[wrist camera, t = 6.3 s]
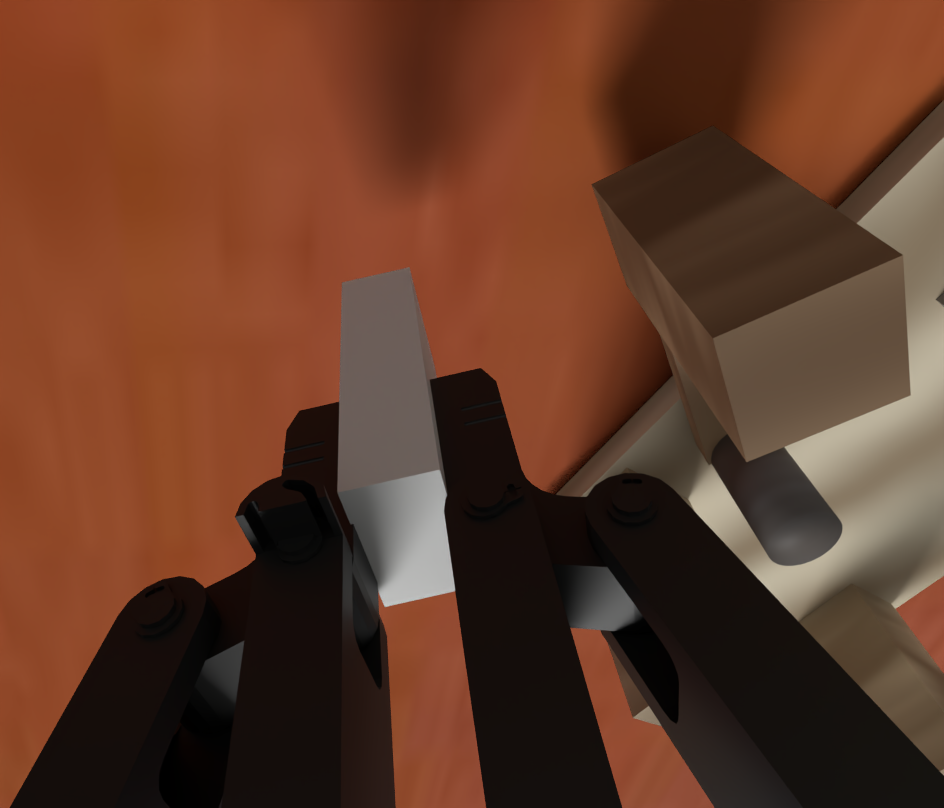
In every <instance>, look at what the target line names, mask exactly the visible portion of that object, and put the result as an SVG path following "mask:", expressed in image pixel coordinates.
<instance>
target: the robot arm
mask: <svg viewBox="0 0 944 808" xmlns="http://www.w3.org/2000/svg"><path fill="white" fill-rule="evenodd" d="M284 450H285V453H284V458H283V470H282V475H281V476H280V477H277V478H274V479H271V480H269V481H266V482H265V483H263V484H262V485H260V486H259V487H257V488H256V489H254V490H253V491H252V492H251V493H250V494H249V495H248V496H247V497H246V498H245V499H244V500H243V501H242V503H241V504H240V506H239V509H238V511H237V513H236V516H235V518H236V520H237V521H238V523H239V525H240V527H241V528H242V530H243V532H244V534H245V536H246V537H247V539H248V541H249V543H250V545H251V546H252V548H253V550H254V552H255V553H256V559H255V560H254V561H253V562H252V563H250V564H249V565H248V566H247V567H245V568H243V569H242V570H240V571H238V572H237V573H235V574H233V575H231V576H229V577H227V578H225V579H223V580H221V581H219V582H217V583H215V584H213V585H211V586H209V587H207V588H204V587H203V586H202V585H201V584H200V583H199V582H197V581H196V580H195V579H193V578H187V577H181V576H178V577H173V578H168V579H163V580H161V581H159V582H157V583H154V584H152V585H150V586H148V587H146V588H145V589H143V590H142V591H141V592H140V593H138V594H137V595H136V596H135V597H133V598H132V599H131V600H130V601H129V602H128V603H127V605H126V606H125V607H124V609H123V610H122V611H121V612H120V614H119V615H118V617H117V618H116V620H115V622H114V624H113V625H112V627H111V629H110V631H109V633H108V634H107V636H106V638H105V640H104V641H103V643H102V645H101V647H100V649H99V650H98V652H97V654H96V656H95V657H94V659H93V661H92V663H91V665H90V666H89V668H88V670H87V672H86V673H85V675H84V677H83V679H82V680H81V682H80V684H79V686H78V688H77V689H76V691H75V693H74V695H73V696H72V698H71V700H70V702H69V704H68V705H67V707H66V709H65V711H64V712H63V714H62V716H61V718H60V719H59V721H58V723H57V725H56V727H55V728H54V730H53V732H52V734H51V735H50V737H49V739H48V741H47V743H46V744H45V746H44V748H43V750H42V751H41V753H40V755H39V757H38V758H37V760H36V762H35V764H34V766H33V767H32V769H31V771H30V773H29V774H28V776H27V778H26V780H25V782H24V783H23V785H22V787H21V789H20V790H19V792H18V794H17V796H16V798H15V799H14V801H13V803H12V805H11V806H10V808H396V807H395V788H394V768H393V748H392V728H391V708H390V689H389V669H388V649H387V635H386V632H385V628H384V625H383V622H382V620H381V618H380V615H379V606H378V592H379V594H380V597H381V599H382V601H383V604H384V606H385V607H387V606H391V605H396V604H400V603H404V602H409V601H413V600H418V599H422V598H427V597H431V596H435V595H440V594H444V593H449V592H453V591H455V592H456V599H457V606H458V613H459V620H460V627H461V634H462V641H463V648H464V655H465V662H466V669H467V676H468V683H469V690H470V697H471V704H472V711H473V718H474V725H475V732H476V739H477V746H478V753H479V760H480V767H481V774H482V781H483V788H484V795H485V802H486V808H622V805H621V802H620V799H619V795H618V792H617V788H616V785H615V781H614V778H613V774H612V771H611V767H610V764H609V761H608V757H607V754H606V750H605V747H604V743H603V740H602V736H601V733H600V729H599V726H598V723H597V719H596V716H595V712H594V709H593V705H592V702H591V698H590V695H589V691H588V688H587V684H586V681H585V678H584V674H583V671H582V667H581V664H580V660H579V657H578V653H577V650H576V646H575V643H574V640H573V636H572V633H571V629H570V627H571V628H583V629H595V630H601V633H602V635H603V636H604V638H605V639H606V641H607V642H608V644H609V645H610V647H611V649H612V650H613V652H614V653H615V655H616V656H617V658H618V659H619V661H620V662H621V664H622V665H623V667H624V669H625V670H626V672H627V673H628V675H629V676H630V678H631V679H632V681H633V682H634V684H635V685H636V687H637V689H638V690H639V692H640V693H641V695H642V696H643V698H644V699H645V701H646V702H647V704H648V706H649V707H650V709H651V710H652V712H653V713H654V715H655V716H656V718H657V719H658V721H659V722H660V724H661V726H662V727H663V729H664V730H665V732H666V733H667V735H668V736H669V738H670V739H671V741H672V742H673V744H674V746H675V747H676V749H677V750H678V752H679V753H680V755H681V756H682V758H683V759H684V761H685V763H686V764H687V766H688V767H689V769H690V770H691V772H692V773H693V775H694V776H695V778H696V779H697V781H698V783H699V784H700V786H701V787H702V789H703V790H704V792H705V793H706V795H707V796H708V798H709V799H710V801H711V803H712V804H713V806H714V807H715V808H944V775H943V774H942V773H941V772H940V771H939V770H938V769H937V768H936V767H935V766H934V765H933V764H932V763H931V761H930V760H929V759H928V758H927V757H926V756H925V755H924V754H923V753H922V752H921V751H920V750H919V749H918V748H917V747H916V746H915V744H914V743H913V742H912V741H911V740H910V739H909V738H908V737H907V736H906V735H905V734H904V733H903V732H902V731H901V730H900V729H899V728H898V726H897V725H896V724H895V723H894V722H893V721H892V720H891V719H890V718H889V717H888V716H887V715H886V714H885V713H884V712H883V711H882V710H881V708H880V707H879V706H878V705H877V704H876V703H875V702H874V701H873V700H872V699H871V698H870V697H869V696H868V695H867V694H866V693H865V691H864V690H863V689H862V688H861V687H860V686H859V685H858V684H857V683H856V682H855V681H854V680H853V679H852V678H851V677H850V676H849V675H848V673H847V672H846V671H845V670H844V669H843V668H842V667H841V666H840V665H839V664H838V663H837V662H836V661H835V660H834V659H833V658H832V657H831V655H830V654H829V653H828V652H827V651H826V650H825V649H824V648H823V647H822V646H821V645H820V644H819V643H818V642H817V641H816V640H815V638H814V637H813V636H812V635H811V634H810V633H809V632H808V631H807V630H806V629H805V628H804V627H803V626H802V625H801V624H800V623H799V622H798V620H797V619H796V618H795V617H794V616H793V615H792V614H791V613H790V612H789V611H788V610H787V609H786V608H785V607H784V606H783V605H782V604H781V602H780V601H779V600H778V599H777V598H776V597H775V596H774V595H773V594H772V593H771V592H770V591H769V590H768V589H767V588H766V587H765V585H764V584H763V583H762V582H761V581H760V580H759V579H758V578H757V577H756V576H755V575H754V574H753V573H752V572H751V571H750V570H749V569H748V567H747V566H746V565H745V564H744V563H743V562H742V561H741V560H740V559H739V558H738V557H737V556H736V555H735V554H734V553H733V552H732V550H731V549H730V548H729V547H728V546H727V545H726V544H725V543H724V542H723V541H722V540H721V539H720V538H719V537H718V536H717V535H716V534H715V532H714V531H713V530H712V529H711V528H710V527H709V526H708V525H707V524H706V523H705V522H704V521H703V520H702V519H701V518H700V517H699V516H698V514H697V513H696V512H695V511H694V510H693V509H692V508H691V507H690V506H689V505H688V504H687V503H686V502H685V501H684V500H683V499H682V497H681V496H680V495H679V494H678V493H677V492H676V491H675V490H674V489H673V488H672V487H670V486H669V485H668V484H666V483H665V482H663V481H662V480H661V479H659V478H656V477H653V476H650V475H646V474H643V473H623V474H619V475H615V476H611V477H608V478H606V479H604V480H603V481H601V482H600V483H598V484H597V485H595V486H594V487H593V489H592V490H591V492H590V493H589V494H588V496H587V497H576V496H562V495H554V494H551V493H548V492H545V491H542V490H540V489H539V488H537V487H535V486H534V485H532V484H531V483H530V482H529V481H528V480H527V479H526V477H525V475H524V473H523V471H522V469H521V466H520V463H519V459H518V456H517V452H516V449H515V445H514V442H513V438H512V435H511V431H510V428H509V425H508V421H507V418H506V414H505V411H504V407H503V404H502V401H501V397H500V393H499V390H498V387H497V383H496V381H495V380H494V379H493V378H492V377H490V376H489V375H488V374H487V373H486V372H485V371H484V370H482V369H481V368H479V369H475V370H470V371H466V372H461V373H457V374H452V375H448V376H444V377H439V378H437V377H436V371H435V366H434V362H433V358H432V354H431V350H430V346H429V343H428V339H427V335H426V331H425V327H424V323H423V319H422V315H421V311H420V307H419V303H418V299H417V295H416V291H415V287H414V283H413V280H412V276H411V272H410V268H405V269H400V270H396V271H391V272H387V273H382V274H378V275H373V276H369V277H365V278H360V279H356V280H351V281H347V282H342V307H341V352H340V397H339V402H336V403H332V404H327V405H323V406H319V407H314V408H310V409H305V410H301V411H299V412H298V414H297V415H296V417H295V418H294V420H293V421H292V423H291V425H290V426H289V428H288V429H287V432H286V441H285V449H284Z"/></svg>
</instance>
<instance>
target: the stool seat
mask: <svg viewBox="0 0 944 808" xmlns="http://www.w3.org/2000/svg"><path fill="white" fill-rule="evenodd" d="M836 210H838V211H839V212H841V213H842V214H844V215H845V216H846V217H848V218H849V219H851V220H852V221H854V222H855V223H857V224H858V225H860V226H861V227H863V228H864V229H866V230H867V231H869V232H870V233H871V234H873V235H874V236H876V237H877V238H879V239H880V240H882V241H883V242H885V243H886V244H888V245H889V246H891V247H892V248H894V249H895V250H896V251H898V252H899V253H901V254H902V255H903V262H904V280H905V299H906V317H907V335H908V354H909V372H910V391H911V395H910V396H908V397H906V398H903V399H901V400H898V401H896V402H893V403H891V404H888V405H886V406H883V407H881V408H879V409H876V410H874V411H871V412H869V413H866V414H864V415H861V416H859V417H857V418H854V419H852V420H849V421H847V422H844V423H842V424H839V425H837V426H834V427H832V428H830V429H827V430H825V431H822V432H820V433H817V434H815V435H812V436H810V437H807V438H805V439H803V440H800V441H798V442H795V443H793V444H790V445H788V446H785V449H786V450H787V451H788V453H789V454H790V455H791V456H792V458H793V459H794V460H795V462H796V463H797V464H798V466H799V467H800V468H801V470H802V471H803V472H804V474H805V475H806V476H807V477H808V479H809V480H810V481H811V483H812V484H813V485H814V487H815V488H816V489H817V491H818V492H819V493H820V495H821V496H822V497H823V498H824V500H825V501H826V502H827V504H828V505H829V506H830V508H831V509H832V510H833V512H834V513H835V514H836V515H837V517H838V518H839V519H840V521H841V523H842V528H843V529H842V534H841V536H840V538H839V540H838V541H837V543H836V544H835V545H834V546H833V547H832V548H831V549H830V550H829V551H828V552H826V553H825V554H824V555H822V556H820V557H819V558H817V559H815V560H813V561H810V562H807V563H804V564H801V565H795V566H783V565H779V564H776V563H774V562H773V561H772V560H771V559H770V558H769V557H768V555H767V553H766V552H765V550H764V548H763V547H762V545H761V544H760V542H759V540H758V539H757V537H756V535H755V534H754V532H753V531H752V529H751V527H750V526H749V524H748V522H747V521H746V519H745V518H744V516H743V514H742V513H741V511H740V509H739V508H738V506H737V505H736V503H735V501H734V500H733V498H732V496H731V495H730V493H729V492H728V490H727V488H726V487H725V485H724V483H723V482H722V480H721V479H720V477H719V475H718V474H717V472H716V470H715V469H714V467H713V466H712V464H711V465H708V463H707V461H706V460H705V458H704V456H703V455H702V453H701V452H700V450H699V448H698V447H697V445H696V443H695V440H694V437H693V434H692V431H691V428H690V425H689V421H688V418H687V415H686V412H685V409H684V406H683V403H682V400H681V397H680V394H679V391H678V388H677V385H676V382H675V379H674V376H672V377H671V378H670V379H669V380H668V381H667V382H666V383H665V384H664V385H663V386H662V387H661V388H660V389H659V390H658V391H657V392H656V393H655V394H654V395H653V396H652V397H651V398H650V399H649V400H648V401H647V402H646V403H645V404H644V405H643V406H642V407H641V408H640V409H639V410H638V411H637V412H636V413H635V414H634V415H633V416H632V417H631V418H630V419H629V420H628V421H627V422H626V423H625V424H624V426H623V427H622V428H621V429H620V430H619V431H618V432H617V433H616V434H615V435H614V436H613V437H612V438H611V439H610V440H609V441H608V442H607V443H606V444H605V445H604V446H603V447H602V448H601V449H600V450H599V451H598V452H597V453H596V454H595V455H594V456H593V457H592V458H591V459H590V460H589V461H588V462H587V463H586V464H585V465H584V466H583V467H582V468H581V469H580V470H579V471H578V472H577V473H576V474H575V475H574V476H573V477H572V478H571V479H570V480H569V481H568V482H567V483H566V484H565V485H564V487H563V488H562V489H561V490H560V491H559V492H558V493H557V494H556V495H562V496H576V497H587V496H588V494H589V493H590V492H591V490H592V489H593V487H594V486H595V485H597V484H598V483H600V482H601V481H603V480H604V479H606V478H608V477H611V476H615V475H619V474H623V473H643V474H646V475H650V476H653V477H656V478H659V479H661V480H662V481H663V482H665V483H666V484H668V485H669V486H670V487H672V488H673V489H674V490H675V491H676V492H677V493H678V494H679V495H680V496H681V497H682V499H683V500H684V501H685V502H686V503H687V504H688V505H689V506H690V507H691V508H692V509H693V510H694V511H695V512H696V513H697V514H698V516H699V517H700V518H701V519H702V520H703V521H704V522H705V523H706V524H707V525H708V526H709V527H710V528H711V529H712V530H713V531H714V532H715V534H716V535H717V536H718V537H719V538H720V539H721V540H722V541H723V542H724V543H725V544H726V545H727V546H728V547H729V548H730V549H731V550H732V552H733V553H734V554H735V555H736V556H737V557H738V558H739V559H740V560H741V561H742V562H743V563H744V564H745V565H746V566H747V567H748V569H749V570H750V571H751V572H752V573H753V574H754V575H755V576H756V577H757V578H758V579H759V580H760V581H761V582H762V583H763V584H764V585H765V587H766V588H767V589H768V590H769V591H770V592H771V593H772V594H773V595H774V596H775V597H776V598H777V599H778V600H779V601H780V602H781V604H782V605H783V606H784V607H785V608H786V609H787V610H788V611H789V612H790V613H791V614H792V615H793V616H794V617H795V618H796V619H797V620H798V622H799V623H800V624H801V625H802V626H803V627H804V628H805V629H806V630H807V631H808V632H809V633H810V634H811V635H812V636H813V637H814V638H815V640H816V641H817V642H818V643H819V644H820V645H821V646H822V647H823V648H824V649H825V650H826V651H827V652H828V653H829V654H830V655H831V657H832V658H833V659H834V660H835V661H836V662H837V663H838V664H839V665H840V666H841V667H842V668H843V669H844V670H845V671H846V672H847V673H848V675H849V676H850V677H851V678H852V679H853V680H854V681H855V682H856V683H857V684H858V685H859V686H860V687H861V688H862V689H863V690H864V691H865V693H866V694H867V695H868V696H869V697H870V698H871V699H872V700H873V701H874V702H875V703H876V704H877V705H878V706H879V707H880V708H881V710H882V711H883V712H884V713H885V714H886V715H887V716H888V717H889V718H890V719H891V720H892V721H893V722H894V723H895V724H896V725H897V726H898V728H899V729H900V730H901V731H902V732H903V733H904V734H905V735H906V736H907V737H908V738H909V739H910V740H911V741H912V742H913V743H914V744H915V746H916V747H917V748H918V749H919V750H920V751H921V752H922V753H923V754H924V755H925V756H926V757H927V758H928V759H929V760H930V761H931V763H932V764H933V765H934V766H935V767H936V768H937V769H938V770H939V771H940V772H941V773H942V774H943V775H944V674H943V672H942V671H941V670H940V668H939V667H938V666H937V664H936V663H935V662H934V660H933V659H932V658H931V656H930V655H929V654H928V652H927V651H926V650H925V648H924V647H923V645H922V644H921V643H920V641H919V640H918V639H917V637H916V636H915V635H914V633H913V632H912V631H911V629H910V628H909V627H908V625H907V624H906V623H905V621H904V620H903V619H902V617H901V616H900V615H899V613H898V612H897V611H896V608H897V607H899V606H900V605H902V604H903V603H905V602H906V601H907V600H909V599H910V598H912V597H913V596H915V595H916V594H918V593H919V592H921V591H922V590H923V589H925V588H926V587H928V586H929V585H931V584H932V583H934V582H935V581H937V580H938V579H940V578H941V577H942V576H944V100H943V101H942V102H941V103H940V104H939V105H938V106H937V107H936V108H935V109H934V110H933V111H932V112H931V113H930V114H929V115H928V116H927V118H926V119H925V120H924V121H923V122H922V123H921V124H920V125H919V126H918V127H917V128H916V129H915V130H914V131H913V132H912V133H911V134H910V135H909V136H908V137H907V138H906V139H905V140H904V141H903V142H902V143H901V144H900V145H899V146H898V147H897V148H896V149H895V150H894V151H893V152H892V153H891V154H890V155H889V156H888V157H887V158H886V159H885V160H884V161H883V162H882V163H881V164H880V165H879V166H878V167H877V168H876V169H875V170H874V171H873V172H872V173H871V174H870V175H869V176H868V177H867V178H866V180H865V181H864V182H863V183H862V184H861V185H860V186H859V187H858V188H857V189H856V190H855V191H854V192H853V193H852V194H851V195H850V196H849V197H848V198H847V199H846V200H845V201H844V202H843V203H842V204H841V205H840V206H839V207H838V208H837V209H836ZM608 645H609V644H608ZM609 648H610V651H611V654H612V657H613V660H614V663H615V666H616V669H617V672H618V675H619V678H620V681H621V684H622V687H623V690H624V693H625V696H626V699H627V702H628V704H629V707H630V710H631V713H632V716H633V718H635V719H639V720H642V721H646V722H649V723H652V724H656V725H659V726H661V724H660V722H659V721H658V719H657V718H656V716H655V715H654V713H653V712H652V710H651V709H650V707H649V706H648V704H647V702H646V701H645V699H644V698H643V696H642V695H641V693H640V692H639V690H638V689H637V687H636V685H635V684H634V682H633V681H632V679H631V678H630V676H629V675H628V673H627V672H626V670H625V669H624V667H623V665H622V664H621V662H620V661H619V659H618V658H617V656H616V655H615V653H614V652H613V650H612V649H611V647H610V645H609Z"/></svg>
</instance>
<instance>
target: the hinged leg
mask: <svg viewBox="0 0 944 808" xmlns="http://www.w3.org/2000/svg"><path fill="white" fill-rule="evenodd" d="M592 187H593V190H594V193H595V196H596V198H597V201H598V204H599V207H600V210H601V213H602V216H603V218H604V221H605V224H606V227H607V230H608V233H609V236H610V239H611V241H612V244H613V247H614V250H615V253H616V256H617V259H618V261H619V264H620V267H621V270H622V273H623V276H624V279H625V282H626V284H627V286H628V288H629V289H630V291H631V292H632V294H633V295H634V297H635V298H636V300H637V301H638V303H639V304H640V306H641V307H642V309H643V310H644V312H645V313H646V314H647V316H648V317H649V319H650V320H651V322H652V323H653V325H654V326H655V328H656V329H657V331H658V332H659V334H660V337H661V340H662V343H663V346H664V349H665V352H666V355H667V358H668V361H669V364H670V367H671V370H672V373H673V376H674V379H675V382H676V385H677V388H678V391H679V394H680V397H681V400H682V403H683V406H684V409H685V412H686V415H687V418H688V421H689V425H690V428H691V431H692V434H693V437H694V440H695V443H696V445H697V447H698V448H699V450H700V452H701V453H702V455H703V456H704V458H705V460H706V461H707V463H708V465H711V464H712V466H713V467H714V469H715V470H716V472H717V474H718V475H719V477H720V479H721V480H722V482H723V483H724V485H725V487H726V488H727V490H728V492H729V493H730V495H731V496H732V498H733V500H734V501H735V503H736V505H737V506H738V508H739V509H740V511H741V513H742V514H743V516H744V518H745V519H746V521H747V522H748V524H749V526H750V527H751V529H752V531H753V532H754V534H755V535H756V537H757V539H758V540H759V542H760V544H761V545H762V547H763V548H764V550H765V552H766V553H767V555H768V557H769V558H770V559H771V560H772V561H773V562H774V563H776V564H779V565H783V566H795V565H801V564H804V563H807V562H810V561H813V560H815V559H817V558H819V557H820V556H822V555H824V554H825V553H826V552H828V551H829V550H830V549H831V548H832V547H833V546H834V545H835V544H836V543H837V541H838V540H839V538H840V536H841V534H842V529H843V528H842V523H841V521H840V519H839V518H838V517H837V515H836V514H835V513H834V512H833V510H832V509H831V508H830V506H829V505H828V504H827V502H826V501H825V500H824V498H823V497H822V496H821V495H820V493H819V492H818V491H817V489H816V488H815V487H814V485H813V484H812V483H811V481H810V480H809V479H808V477H807V476H806V475H805V474H804V472H803V471H802V470H801V468H800V467H799V466H798V464H797V463H796V462H795V460H794V459H793V458H792V456H791V455H790V454H789V453H788V451H787V450H786V449H785V446H788V445H790V444H793V443H795V442H798V441H800V440H803V439H805V438H807V437H810V436H812V435H815V434H817V433H820V432H822V431H825V430H827V429H830V428H832V427H834V426H837V425H839V424H842V423H844V422H847V421H849V420H852V419H854V418H857V417H859V416H861V415H864V414H866V413H869V412H871V411H874V410H876V409H879V408H881V407H883V406H886V405H888V404H891V403H893V402H896V401H898V400H901V399H903V398H906V397H908V396H910V395H911V391H910V372H909V354H908V335H907V317H906V299H905V280H904V262H903V255H902V254H901V253H899V252H898V251H896V250H895V249H894V248H892V247H891V246H889V245H888V244H886V243H885V242H883V241H882V240H880V239H879V238H877V237H876V236H874V235H873V234H871V233H870V232H869V231H867V230H866V229H864V228H863V227H861V226H860V225H858V224H857V223H855V222H854V221H852V220H851V219H849V218H848V217H846V216H845V215H844V214H842V213H841V212H839V211H838V210H836V209H835V208H833V207H832V206H830V205H829V204H827V203H826V202H824V201H823V200H821V199H820V198H819V197H817V196H816V195H814V194H813V193H811V192H810V191H808V190H807V189H805V188H804V187H802V186H801V185H799V184H798V183H796V182H795V181H794V180H792V179H791V178H789V177H788V176H786V175H785V174H783V173H782V172H780V171H779V170H777V169H776V168H774V167H773V166H771V165H770V164H769V163H767V162H766V161H764V160H763V159H761V158H760V157H758V156H757V155H755V154H754V153H752V152H751V151H749V150H748V149H746V148H745V147H744V146H742V145H741V144H739V143H738V142H736V141H735V140H733V139H732V138H730V137H729V136H727V135H726V134H724V133H723V132H721V131H720V130H719V129H717V128H716V127H714V126H711V127H709V128H707V129H705V130H703V131H701V132H699V133H697V134H695V135H693V136H690V137H688V138H686V139H684V140H682V141H680V142H678V143H676V144H674V145H672V146H670V147H668V148H666V149H664V150H662V151H660V152H658V153H655V154H653V155H651V156H649V157H647V158H645V159H643V160H641V161H639V162H637V163H635V164H633V165H631V166H629V167H627V168H625V169H623V170H620V171H618V172H616V173H614V174H612V175H610V176H608V177H606V178H604V179H602V180H600V181H598V182H596V183H594V184H592Z"/></svg>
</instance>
